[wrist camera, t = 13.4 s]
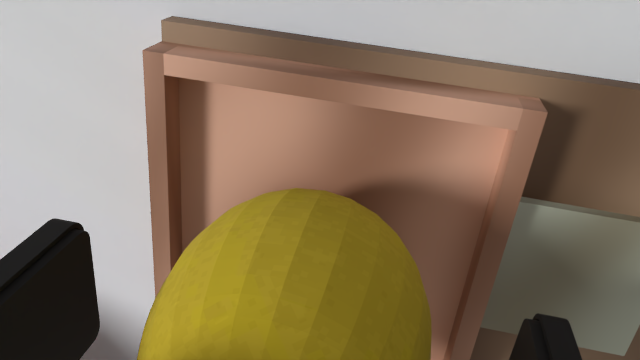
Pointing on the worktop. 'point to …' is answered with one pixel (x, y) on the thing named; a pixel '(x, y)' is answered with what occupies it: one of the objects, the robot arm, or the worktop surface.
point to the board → (414, 171)
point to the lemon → (292, 287)
